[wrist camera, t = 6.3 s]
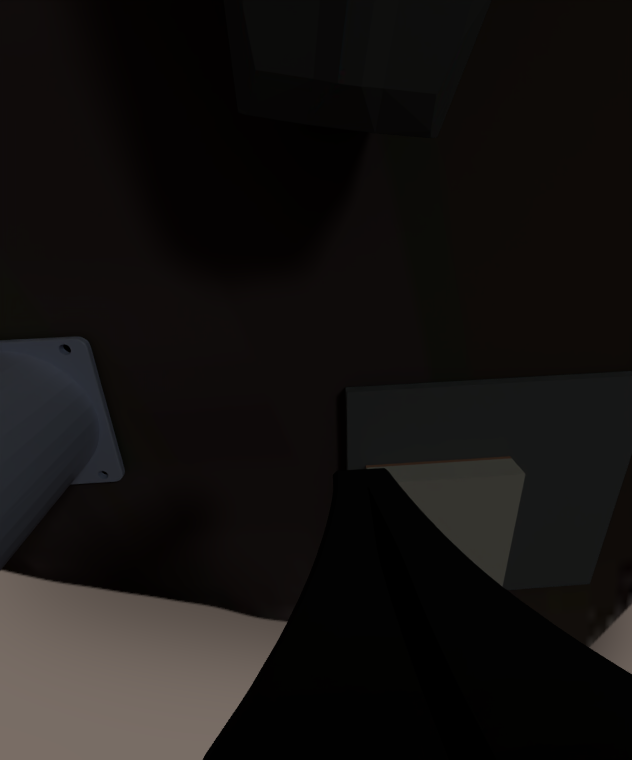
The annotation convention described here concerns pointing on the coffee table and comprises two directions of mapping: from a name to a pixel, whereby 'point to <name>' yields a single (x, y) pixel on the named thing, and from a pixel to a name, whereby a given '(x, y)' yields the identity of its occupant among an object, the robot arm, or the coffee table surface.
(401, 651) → the robot arm
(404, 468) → the tile
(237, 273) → the coffee table surface
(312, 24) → the gun
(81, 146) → the coffee table surface
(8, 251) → the coffee table surface
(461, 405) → the mat
